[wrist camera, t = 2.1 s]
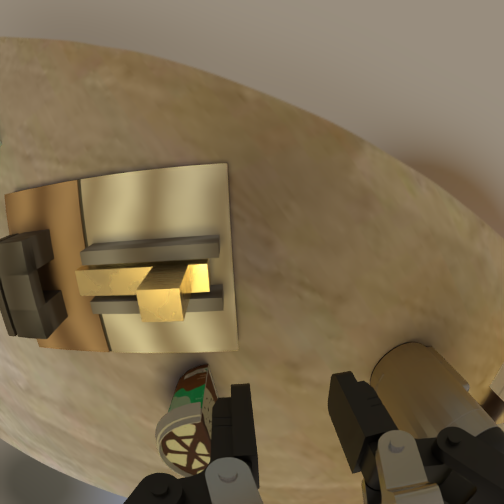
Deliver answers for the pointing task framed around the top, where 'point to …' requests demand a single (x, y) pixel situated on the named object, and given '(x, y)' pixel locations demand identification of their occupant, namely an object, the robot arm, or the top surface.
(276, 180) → the top surface
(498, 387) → the pizza boxes
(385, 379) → the robot arm
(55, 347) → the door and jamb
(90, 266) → the wooden t-shaped block
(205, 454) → the food container
